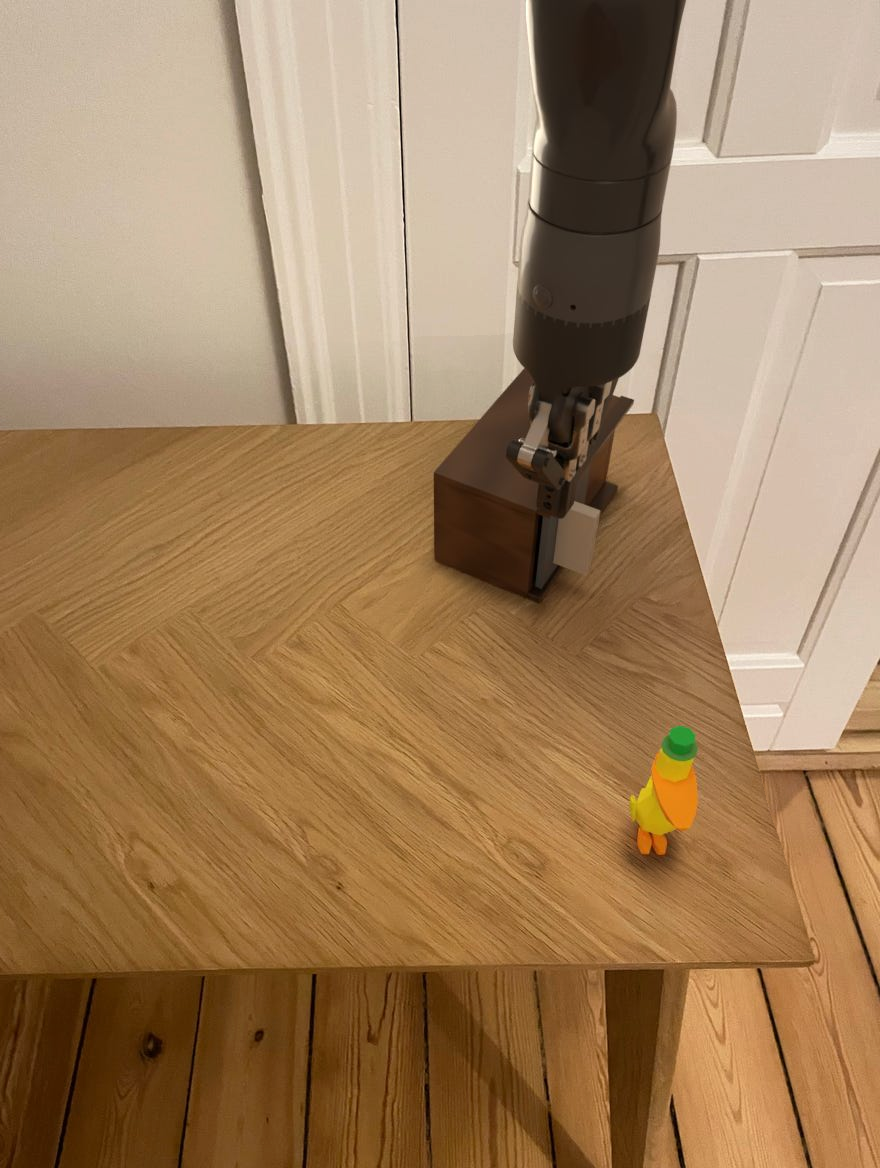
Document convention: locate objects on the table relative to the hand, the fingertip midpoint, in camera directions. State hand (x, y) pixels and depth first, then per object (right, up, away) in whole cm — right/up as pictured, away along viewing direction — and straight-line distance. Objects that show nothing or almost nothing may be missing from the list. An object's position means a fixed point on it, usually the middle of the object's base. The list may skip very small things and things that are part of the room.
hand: (554, 508), depth 68 cm
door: (+4, -3, +14) cm, 15 cm away
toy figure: (+6, -23, -1) cm, 24 cm away
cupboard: (0, +1, +19) cm, 19 cm away
